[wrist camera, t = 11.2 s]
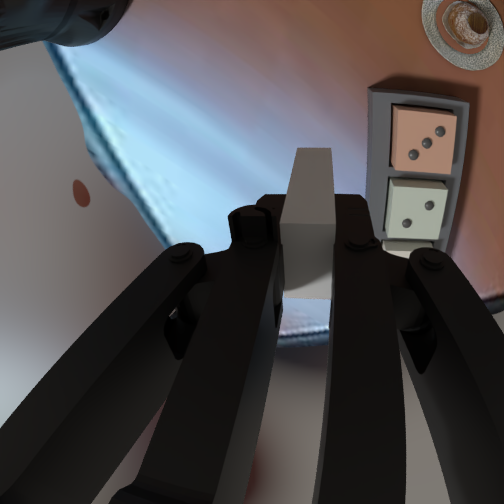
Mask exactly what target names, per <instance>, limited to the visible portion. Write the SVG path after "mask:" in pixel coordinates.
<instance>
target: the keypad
mask: <svg viewBox="0 0 504 504" xmlns="http://www.w3.org/2000/svg"><path fill="white" fill-rule="evenodd" d="M391 103H394V104H406V105H416V106H425V107H434V108H442V109H446V110H447V111H449V112H451V113H452V114H454V115H455V116H457V120H456V132H455V142H454V151H453V159H452V167H451V174H440V173H428V172H415V171H399V170H395V169H394V167H393V165H392V163H391V161H390V159H389V151H390V126H391ZM468 117H469V103H468V102H466V101H464V100H462V99H460V98H458V97H453V96H447V95H440V94H433V93H425V92H416V91H406V90H395V89H382V88H368V148H367V176H366V194H365V200H366V201H367V203H368V208H369V212H370V216H371V221H372V225H373V230H374V235H375V237H376V238H377V239H379V241H380V242H381V239H386V240H415V241H431V244H432V246H433V248H435V249H438V250H440V251H442V252H444V253H445V251H446V247H447V243H448V239H449V235H450V231H451V226H452V222H453V217H454V213H455V208H456V203H457V198H458V193H459V187H460V181H461V175H462V169H463V162H464V155H465V147H466V139H467V129H468ZM388 176H391V177H409V178H424V179H437V180H441V181H442V182H443V184H444V185H445V187H446V188H447V189H448V192H447V198H446V204H445V209H444V214H443V219H442V224H441V228H440V233H439V237H438V239H414V238H388V237H387V233H386V229H385V225H384V222H383V221H384V213H385V203H386V193H387V181H388Z"/></svg>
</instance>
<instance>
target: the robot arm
mask: <svg viewBox="0 0 504 504" xmlns="http://www.w3.org/2000/svg"><path fill="white" fill-rule="evenodd" d="M127 2H128V0H0V51H1V50H5V49H8V48H12V47H16V46H20V45H24V44H29V43H33V42H37V41H43V40H45V41H48V42H52V43H55V44H59V45H62V46H67V47H76V46H82V45H88V44H91V43H94V42H96V41H98V40H99V39H101V38H102V37H104V36H105V35H106V34H107V33H109V32H110V31H111V30H112V28H113V27H114V26H115V25H116V24H117V22H118V21H119V19H120V18H121V16H122V14H123V12H124V10H125V7H126V5H127ZM228 221H229V227H230V233H231V239H232V242H231V245H230V247H229V249H227V250H224V251H220V252H215V253H209V254H204V250H203V248H202V247H201V246H200V245H199V244H196V243H190V242H184V243H178V244H176V245H173V246H171V247H169V248H168V249H166V250H165V251H163V252H162V253H161V254H160V255H159V256H158V257H157V258H156V259H155V260H154V261H153V262H152V263H151V264H150V265H149V266H148V267H147V268H146V269H145V270H144V271H143V272H142V273H141V274H140V275H139V276H138V277H137V278H136V279H135V280H134V281H133V282H132V283H131V284H130V285H129V286H128V287H127V288H126V289H125V290H124V291H123V292H122V293H121V294H120V295H119V296H118V297H117V298H116V299H115V300H114V301H113V302H112V303H111V304H110V305H109V306H108V307H107V308H106V309H105V310H104V311H103V312H102V313H101V314H100V316H99V317H98V318H97V319H96V320H95V321H94V322H93V323H92V324H91V325H90V326H89V327H88V328H87V329H86V330H85V331H84V333H82V335H81V336H80V337H79V338H78V339H77V340H76V341H75V342H74V343H73V344H72V345H71V346H70V348H69V349H68V350H67V351H66V352H65V353H64V354H63V355H62V356H61V358H60V359H59V360H58V361H57V362H56V363H55V364H54V365H53V366H52V368H51V369H50V370H49V371H48V372H47V373H46V374H45V375H44V377H43V378H42V379H41V380H40V381H39V382H38V384H37V385H36V386H35V387H34V388H33V389H32V390H31V392H30V393H29V394H28V395H27V396H26V398H25V399H24V400H23V401H22V402H21V404H20V405H19V406H18V407H17V408H16V410H15V411H14V412H13V413H12V414H11V416H10V417H9V418H8V419H7V421H6V422H5V423H4V424H3V426H2V427H1V428H0V504H91V503H92V501H93V500H94V499H95V497H96V496H97V495H98V493H99V492H100V490H101V489H102V488H103V486H104V485H105V484H106V482H107V481H108V480H109V478H110V477H111V475H112V474H113V473H114V471H115V470H116V469H117V467H118V466H119V464H120V463H121V462H122V460H123V459H124V457H125V456H126V455H127V453H128V452H129V450H130V449H131V448H132V446H133V445H134V443H135V442H136V441H137V439H138V438H139V436H140V435H141V433H142V432H143V431H144V429H145V428H146V426H147V425H148V424H149V422H150V421H151V419H152V418H153V417H154V415H155V414H156V413H157V411H158V410H159V408H160V407H161V405H162V404H163V403H164V401H165V400H166V398H167V400H166V403H165V405H164V408H163V410H162V413H161V415H160V418H159V420H158V423H157V425H156V428H155V431H154V433H153V436H152V438H151V441H150V444H149V446H148V449H147V451H146V454H145V457H144V459H143V462H142V465H141V467H140V470H139V472H138V475H137V477H136V479H135V480H134V481H133V482H132V484H130V485H128V486H126V487H124V488H122V489H120V490H118V491H117V492H116V494H115V495H114V496H113V497H112V498H111V500H110V502H109V504H243V501H244V497H245V493H246V489H247V484H248V480H249V476H250V472H251V467H252V463H253V458H254V454H255V449H256V445H257V440H258V436H259V431H260V426H261V421H262V417H263V412H264V407H265V402H266V397H267V392H268V387H269V382H270V377H271V371H272V367H273V362H274V356H275V350H276V346H277V340H278V335H279V329H280V324H281V318H282V312H283V303H282V296H283V291H284V298H304V299H330V300H331V308H330V320H329V348H328V363H327V378H326V390H325V402H324V413H323V423H322V433H321V441H320V449H319V457H318V465H317V472H316V480H315V486H314V493H313V500H312V504H405V495H406V428H405V407H404V392H403V380H402V369H401V359H400V351H401V354H402V357H403V359H404V362H405V364H406V367H407V369H408V372H409V375H410V377H411V380H412V382H413V385H414V388H415V390H416V393H417V396H418V399H419V401H420V404H421V407H422V410H423V413H424V416H425V418H426V421H427V424H428V427H429V430H430V433H431V436H432V439H433V443H434V446H435V449H436V452H437V455H438V459H439V462H440V465H441V469H442V472H443V476H444V479H445V483H446V487H447V490H448V494H449V498H450V502H451V504H504V334H503V332H502V330H501V329H500V327H499V326H498V324H497V322H496V321H495V319H494V318H493V316H492V315H491V313H490V312H489V310H488V309H487V307H486V306H485V304H484V303H483V301H482V300H481V298H480V297H479V295H478V294H477V292H476V291H475V290H474V288H473V287H472V285H471V284H470V283H469V281H468V280H467V278H466V277H465V276H464V274H463V273H462V272H461V270H460V269H459V268H458V266H457V265H456V264H455V262H454V261H453V260H452V259H451V258H450V257H449V256H448V255H447V254H446V253H444V252H442V251H440V250H438V249H435V248H431V247H421V248H417V249H414V250H413V251H412V252H411V253H410V256H409V259H408V258H404V257H400V256H397V255H394V254H391V253H389V252H387V251H385V250H383V248H382V244H381V242H380V241H379V239H377V238H376V237H375V235H374V230H373V225H372V221H371V216H370V212H369V208H368V203H367V201H366V200H365V199H364V198H363V197H362V196H361V195H358V194H334V180H333V166H332V153H331V148H297V152H296V156H295V160H294V165H293V169H292V173H291V178H290V182H289V186H288V190H287V194H265V195H264V196H262V197H261V198H260V199H259V200H257V202H256V205H247V206H243V207H240V208H237V209H235V210H234V211H232V212H231V213H230V214H229V215H228ZM174 309H175V310H176V311H175V312H174V313H173V314H172V315H171V316H170V317H169V315H170V314H171V313H172V311H173V310H174ZM399 349H400V350H399Z"/></svg>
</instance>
